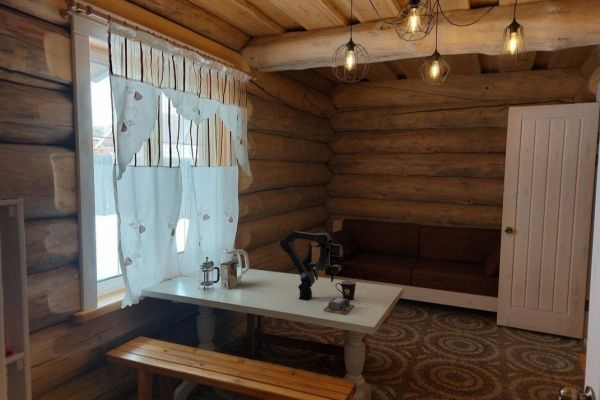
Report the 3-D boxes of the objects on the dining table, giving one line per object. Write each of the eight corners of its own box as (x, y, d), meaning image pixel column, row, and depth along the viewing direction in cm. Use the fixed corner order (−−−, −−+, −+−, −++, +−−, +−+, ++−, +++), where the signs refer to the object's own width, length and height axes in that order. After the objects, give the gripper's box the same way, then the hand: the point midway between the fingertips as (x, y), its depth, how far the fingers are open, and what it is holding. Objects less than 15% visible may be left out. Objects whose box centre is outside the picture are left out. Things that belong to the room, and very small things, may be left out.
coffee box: (230, 284, 270) (229, 260, 269) (237, 285, 267) (237, 261, 265) (220, 287, 262) (220, 263, 261) (228, 289, 259) (227, 264, 257)
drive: (329, 309, 223) (329, 301, 222) (337, 303, 231) (338, 296, 231) (339, 311, 220) (339, 303, 219) (347, 305, 228) (347, 298, 228)
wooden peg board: (323, 311, 222) (323, 304, 222) (332, 303, 235) (332, 296, 234) (346, 315, 217) (346, 308, 216) (354, 306, 229) (354, 299, 229)
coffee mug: (358, 298, 243) (358, 282, 242) (349, 302, 237) (349, 285, 236) (343, 293, 251) (343, 278, 250) (334, 297, 245) (334, 281, 244)
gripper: (304, 256, 232) (304, 283, 233) (335, 259, 224) (334, 287, 225) (311, 252, 242) (311, 277, 243) (341, 255, 234) (341, 281, 236)
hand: (324, 281), depth 237 cm, fingers open, 9 cm apart
